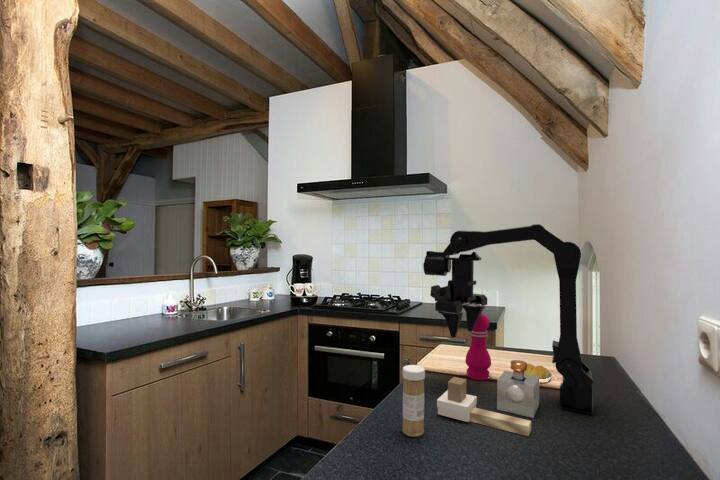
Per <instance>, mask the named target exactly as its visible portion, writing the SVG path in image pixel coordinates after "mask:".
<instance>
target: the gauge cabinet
mask: <svg viewBox="0 0 720 480" xmlns="http://www.w3.org/2000/svg"><path fill="white" fill-rule="evenodd" d="M496 381H497V384H496V386H497V387H496V390H497V391H496V410H497V411H501V412H505V413H510V414H514V415H518V416H522V417H523V416H524V417H527V418H531V419H534V418H535V415H536V413H537V411H538V409H539V407H540V383H539V377H538V376H533V375H527V374H524V381H519V380H514V379H513V371H509V370H504V371H503V372H502V373H501V374H500V376H499V377H498V379H497V380H496Z"/></svg>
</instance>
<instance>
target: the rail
mask: <svg viewBox="0 0 720 480" xmlns="http://www.w3.org/2000/svg"><path fill="white" fill-rule="evenodd" d="M469 422H471V423H475V424H480V425H482V426H483V425H484V426H487V427H490V428H495V429H498V430H502V431H506V432H511V433H515V434H518V435H521V436H525V437H530V434H531V432H532V420H529V419H524V418H520V417H516V416H511V415H508V414H503V413H499V412H494V411H491V410H487V409H484V408H479V407H476V408H475V407H473V408H472V410H471V411H470V421H469Z"/></svg>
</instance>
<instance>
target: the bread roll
mask: <svg viewBox="0 0 720 480" xmlns="http://www.w3.org/2000/svg"><path fill="white" fill-rule="evenodd" d="M524 374H527V375H533V376H538V377H539V379H546V378H549V377H551V376H552V373H551V372H550V370H549V369H548V368H546V367H544V366H543V365H536V366H535V365H533V364H532V363H527V370H526V371H524ZM552 377H553V376H552ZM552 377H551V378H552Z"/></svg>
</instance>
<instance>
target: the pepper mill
mask: <svg viewBox="0 0 720 480" xmlns="http://www.w3.org/2000/svg"><path fill="white" fill-rule="evenodd" d="M490 324H491V323H490V319H489V317H488V316H487V315H486V314H484V313H481V315H480V316H479V318H478V320H477V322H476V324H475V326H474V328H473V331H472V332H470V331H469V335H470V336H471V337H470V339H471V341H470V346H469V348H468V350H467V352H466V355H465V360H464V361H465V364H466V366H467V367H468V368H467V369H466V376H467V377H468V378H469V379H472V380H476V381H477V380H478V381H487V380H489V378H490V370H488V369H489V368H490V367H491V365H492V359H491V355H490V353H489V351H488V349H487V337H488V335H489V334H488V332H489V331H488V328H489V327H490ZM488 377H489V378H488Z"/></svg>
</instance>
